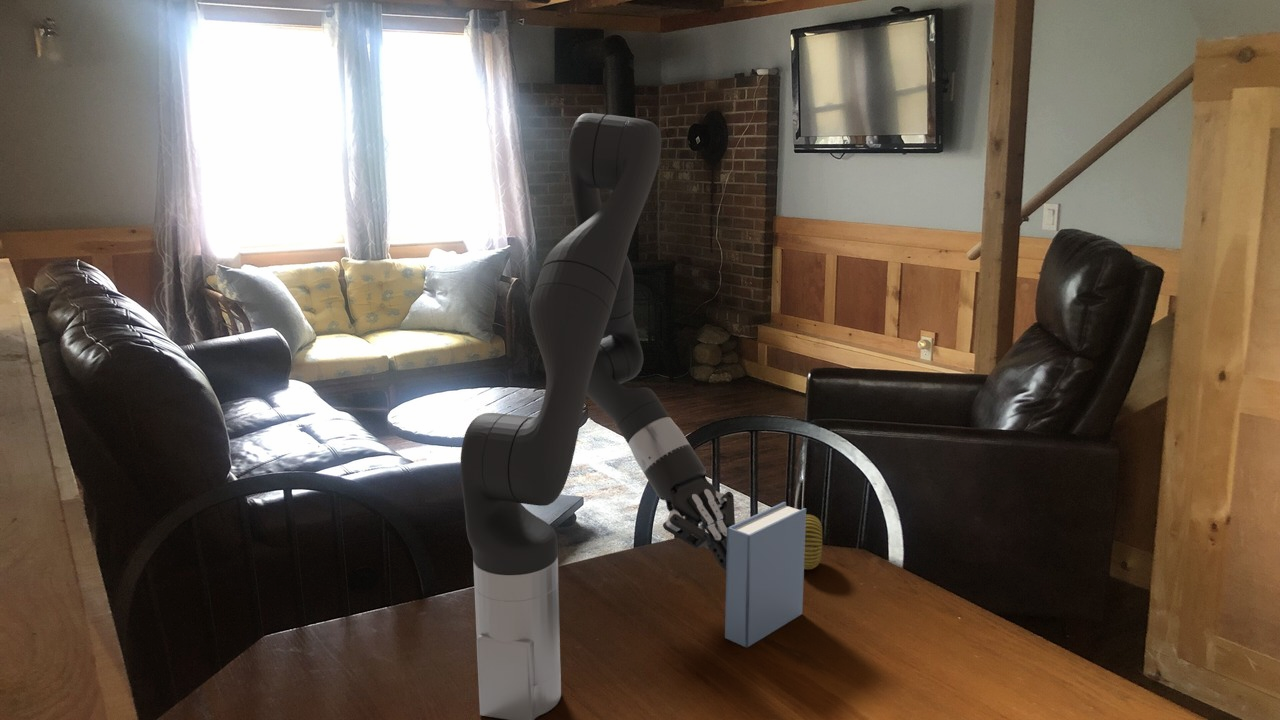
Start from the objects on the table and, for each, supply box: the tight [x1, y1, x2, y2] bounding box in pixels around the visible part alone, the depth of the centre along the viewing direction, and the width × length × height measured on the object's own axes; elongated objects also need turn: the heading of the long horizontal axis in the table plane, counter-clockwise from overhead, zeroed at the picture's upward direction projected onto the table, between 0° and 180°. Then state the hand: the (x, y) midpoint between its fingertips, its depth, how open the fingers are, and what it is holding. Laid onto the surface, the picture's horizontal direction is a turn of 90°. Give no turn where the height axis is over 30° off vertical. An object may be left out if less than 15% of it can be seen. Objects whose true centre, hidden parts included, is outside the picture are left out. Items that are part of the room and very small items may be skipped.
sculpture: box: [804, 513, 823, 570], centre depth 141 cm, size 8×4×8 cm, turn 171°
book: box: [724, 501, 807, 648], centre depth 123 cm, size 4×12×15 cm, turn 136°
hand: (734, 566), depth 127 cm, fingers closed
